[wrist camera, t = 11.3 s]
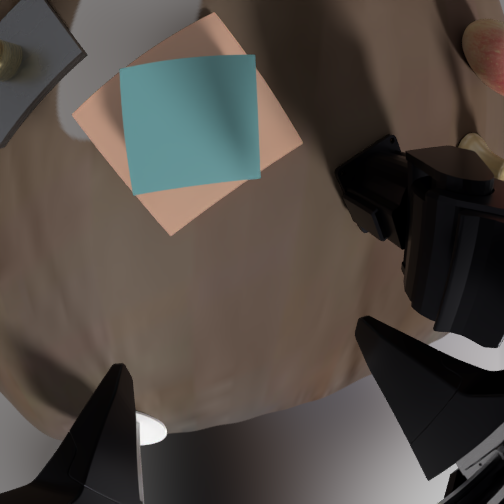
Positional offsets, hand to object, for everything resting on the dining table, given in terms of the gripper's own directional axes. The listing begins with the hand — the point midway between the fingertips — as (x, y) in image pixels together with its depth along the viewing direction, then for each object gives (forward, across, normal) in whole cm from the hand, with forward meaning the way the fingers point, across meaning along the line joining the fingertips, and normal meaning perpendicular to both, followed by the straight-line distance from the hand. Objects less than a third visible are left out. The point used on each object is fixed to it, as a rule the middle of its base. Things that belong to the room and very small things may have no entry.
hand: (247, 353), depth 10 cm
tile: (+12, +1, -8) cm, 14 cm away
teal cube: (+11, +1, -8) cm, 14 cm away
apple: (+12, -29, -18) cm, 36 cm away
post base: (+12, +13, -15) cm, 24 cm away
